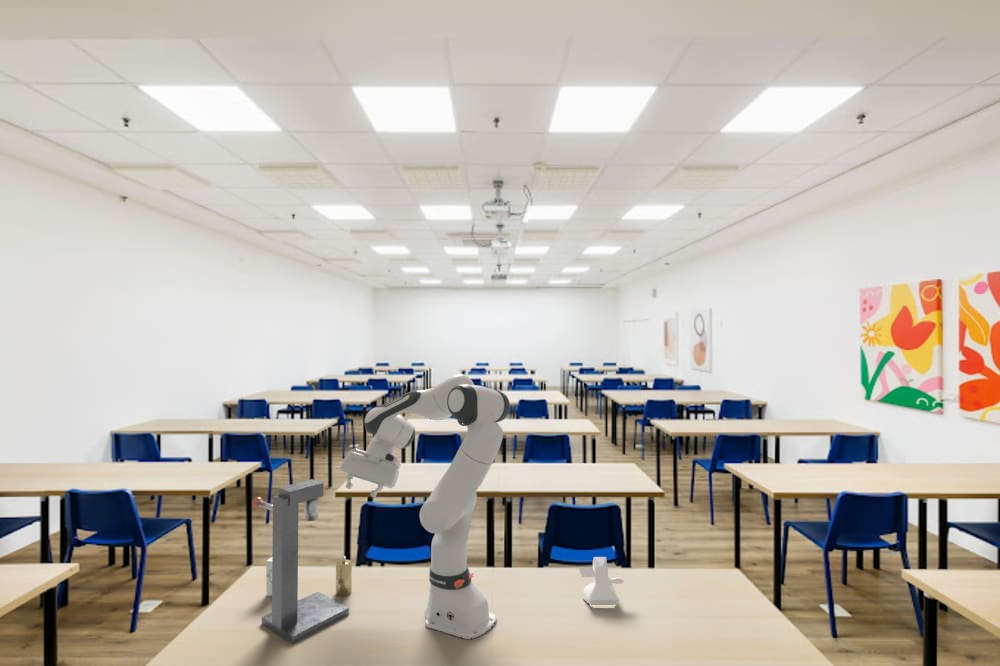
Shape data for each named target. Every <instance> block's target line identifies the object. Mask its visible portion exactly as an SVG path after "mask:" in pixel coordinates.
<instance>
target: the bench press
mask: <svg viewBox="0 0 1000 666" xmlns="http://www.w3.org/2000/svg"><path fill="white" fill-rule="evenodd" d="M321 497H324V482H322V481H318V480H315V479H312V478H311V479H308V480H303V481H300V482H296V483H292V484H288V485H284V486H280V487H278V495H273V496H272V504H271V503H268V502H266V501H264V499H263V498H262V497H260V496H257V497H254V498H253V499H252V503H251V504H252V506H253V507H255V508H260V507H262V508H264V509H266V510H268V511H271V512H272V556H271V557H272V596H271V598H272V599H271V612H270V613H268V614H266V615H263V616H261V625H263V626H264V625H265V626H264V627H266V628H267V627H268V628H267V629H268V630H270V629H271V631H272V632H274V633H275V634H276V635H278V636H279V637H281V638H283V639H284V640H286V642H289V644H292V645H293V644H295V643H296V642H299V641H300V640H302V639H304V638H306V637H308V636H310V635H311V634H314V633H316V632H317V631H320V630H322V629H323V628H325V627H327V626H329V625H331V624H333V623H335V622H337V621H339V620H341V619H342V618H344V617H346V616H348V615H349V614H350V608H349V607H348V606H346V605H344V604H343V603H341V602H339V601H337V600H335V599H334V598H331V597H329V596H327V595H325V594H324V593H322V592H320V591H316V592H314V593H312V594H310V595H307V596H305V597H303V598H301V599H299V598H298V595H299V593H298V591H299V589H298V584H299V577H298V575H299V573H298V571H299V504H301V503H303V502H304V511H303V512H304V521H306V522H313V521H317V520H319V508H320V507H319V504H320V503H319V500H320V499H319V498H321ZM298 599H299V600H298Z"/></svg>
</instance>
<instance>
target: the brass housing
mask: <svg viewBox="0 0 1000 666" xmlns="http://www.w3.org/2000/svg"><path fill="white" fill-rule="evenodd" d="M352 566H353V565H352V560H350V559H347V556H346V555H343V556H341V560H340V559H339V560H338V561H337V562H336V563H335V595H336V597H340V598H344V596H345V597H348V596H350V595H351V594H352V581H353V579H352V577H353V576H352V575H353V574H352V573H353V572H352V571H353V569H352V568H353V567H352ZM349 594H350V595H349Z"/></svg>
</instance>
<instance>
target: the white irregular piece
mask: <svg viewBox="0 0 1000 666" xmlns="http://www.w3.org/2000/svg"><path fill="white" fill-rule="evenodd" d="M592 558H593V560H592V567H579V568H578V570H579V572H580V575H581V577H582V578H593V582H591V583H589V584H587V585H585V586H584V588H583V593H582V595H583V594H584V597H585V600H586V601H588V602H589V603H590V604H591V605H614V604H615V605H616V606H617V605H618V604H619V601H620V598H619V596H618V595H617V592H616V590H615V588H614V586H613V584H616V585H622V584H623V583H625V582H624V581H625V580H624V579H623V578H621V577H613V578H611V576H610V575H609V570H608V569H609V568H608V562H607V561H608V560H607V557H606V556H594V557H592Z"/></svg>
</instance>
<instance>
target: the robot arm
mask: <svg viewBox="0 0 1000 666" xmlns="http://www.w3.org/2000/svg"><path fill="white" fill-rule="evenodd" d="M510 408H511V405H510V400H509V398H508V396H507V395H506V394H505V393H504V392H502V391H500V390H498V389H492V388H489V387H486V386H482V385H478V384H477V385H475V384H474V382H473V380H472V379H471V378H470V377H469V376H468V375H466V374H462V373H459V374H454V375H453V376H451V377H448V378H446V379H445V380H442V381H440V382H439V383H438V384H436V385H435V386H433V387H431V388H427V389H422V390H418V389H417V390H411V391H409V392H406V393H405V394H403V395H400V396H398V397H396V398H395V399H392V400H391V401H388V402H386V403H384V404H381V405H377V406H374V407H372V408H371V409H370V410H369V411H368V412H367V413H366V415H365V417H364V419H363V422H364V423H363V424H364V428H365V431H366V433H368V434H370V435H373V438H372V439H371V440H370V441H369V444H368V446H367V448H366V450H365V451H364V450H361V449H358V448H354V449H350V450H349V452H348V453H347V456H346V458H345V460H344V461H343V463H342V464H341V465H340V471H341V472H342V473H343V474H345V475H347V476H346V480H347V483H346V484H345V488H346V489H348V490H351V489H352V487H353V485H354V484H353V483H352V480H353V479H354V478H357V479H359V480H363V481H367V482H370V483H373V484H376V485H377V487H376V488H375V489H374V490H373V489H371V492H370V496H371V497H372V498H376V497H377V494H378V493H379V492H380V491H382V490H383V489H384V487H386V488H388V489H393V488H394V487H395V486H396V484H397V480H398V478H399V469H401V465H402V464H401V462H400V460H399V459H398V458H397V457H396V456H395V455H393V451H394V449H395V448H397V449H401V450H402V449H405V448H408V447H410V446H411V444H412V443H413V442H414V439H415V436H416V429H415V426H414V425H413V424H412V423H411V422H409V421H407V420H406V419H405V417H404V416H403V415H402V414H404V413H412V414H416V415H418V416H421V417H425V418H427V419H429V420H432V421H443V420H446V419H448V418H451V417H453V418H455V419H456V420H457V422H458V425H460V426H462V427H467V432H466V435H465V437H464V439H463V440H462V443H461V444H460V446H459V448H458V450H457V451H456V454H455V456H454V457H453V459H452V461H451V464H450V465H449V467H448V469H447V470H446V471H445V473H444V474H443V476H442V477H441V478H440V480H439V481H438V483H437V484H436V486H435V487H434V489H433V490H432V491H431V493H430V495H429V496H428V498H427V499H426V501H425V502H424V503H423V505H422V506H421V508H420V510H419V520H420V524H421V526H422V527H423V528H424V529H425V530H426V532H429V533H431V534H434V535H433V537H432V540H431V546H430V549H431V550H430V551H431V552H430V555H431V556H430V560H431V561H430V567H429V574H428V577H429V579H428V580H429V582H430V587H429V593H428V594H429V595H428V602H427V606H426V609H425V611H424V617H425V627H426V628H429V629H432V630H435V631H437V632H441V631H442V633H446V634H449V635H451V634H452V636H456V637H458V638H461V637H462V639H465V640H471V638H472V639H475V638H478V637H480V636H482V635H484V634H485V633H486V631H487V632H488V631H490V630H491V629H492V628H493V627H494V626H495V624H496V623H495V622H497V615H496V614H494V613H492V611H489V603H488V602H489V601H488V600H487V598H486V597H485V596H484V594H483V592H482V591H481V590H479V588H478V587H477V586H476V585H475V583H473V581H472V578H474V577H475V576H474V574H475V573H474V572H472V573H471V574H470V570H469V567H468V562H467V561H468V541H469V534H470V529H471V526H472V525H471V523H472V517H473V512H474V508H475V505H476V502H477V497H478V496H477V491H478V489H479V488H480V487H481V485H482V483H483V482H484V480H485V477H486V476H487V474H488V472H489V471H490V469H491V467H492V465H493V463H494V461H495V459H496V457H497V454H498V453H499V450H500V447H501V445H502V441H503V439H504V432H503V428H502V427H501V425H500V424H499V423H500V422H502V421H504V420H505V419H506V418H507V416H508V415H509V412H510ZM494 623H495V624H494ZM492 626H493V627H492ZM491 627H492V628H491Z"/></svg>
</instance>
